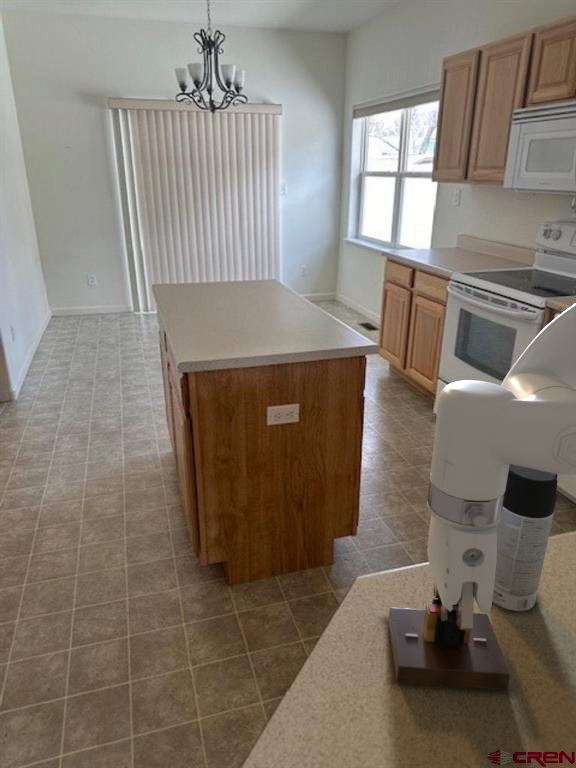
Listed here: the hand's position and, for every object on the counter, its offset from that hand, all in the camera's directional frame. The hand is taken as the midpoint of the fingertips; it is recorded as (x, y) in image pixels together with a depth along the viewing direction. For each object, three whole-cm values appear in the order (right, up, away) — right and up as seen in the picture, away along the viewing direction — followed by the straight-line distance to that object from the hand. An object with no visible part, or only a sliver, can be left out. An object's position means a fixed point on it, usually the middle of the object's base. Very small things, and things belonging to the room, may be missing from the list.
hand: (445, 635), depth 62 cm
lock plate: (0, -3, +1) cm, 3 cm away
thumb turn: (0, 0, 0) cm, 0 cm away
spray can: (+12, 0, +11) cm, 16 cm away
